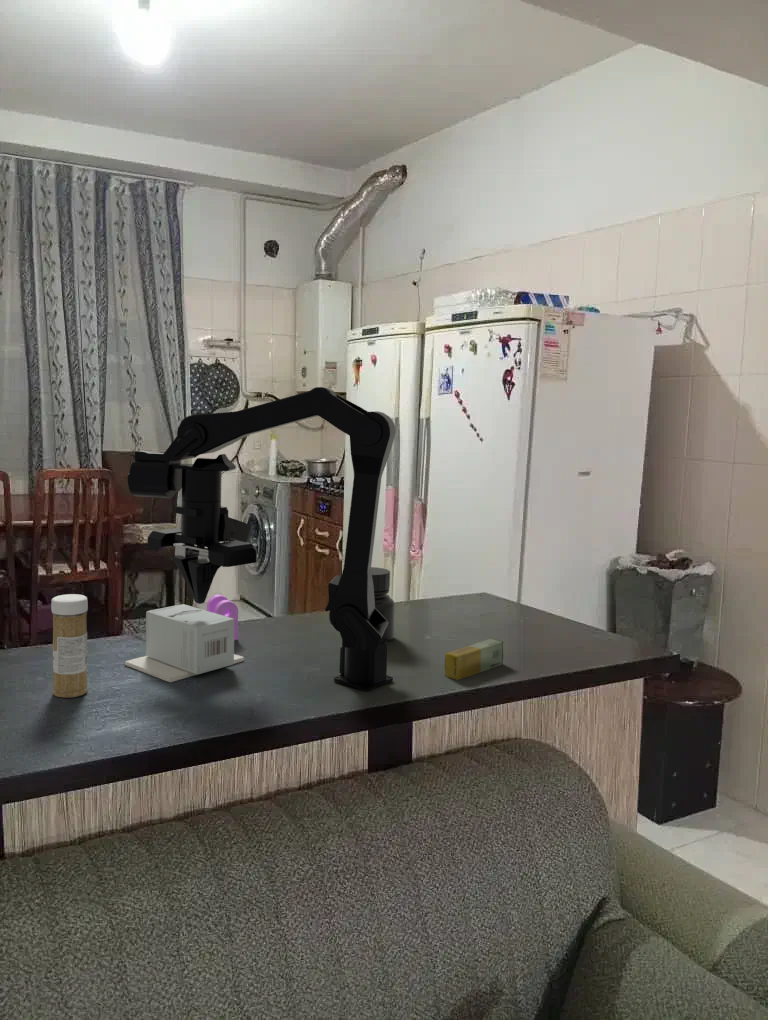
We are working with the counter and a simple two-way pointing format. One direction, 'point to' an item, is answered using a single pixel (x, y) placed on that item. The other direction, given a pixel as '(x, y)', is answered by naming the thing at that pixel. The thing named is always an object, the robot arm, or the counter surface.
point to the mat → (164, 668)
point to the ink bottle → (384, 599)
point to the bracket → (224, 610)
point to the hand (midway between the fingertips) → (200, 603)
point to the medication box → (474, 659)
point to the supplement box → (190, 638)
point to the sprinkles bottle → (69, 645)
